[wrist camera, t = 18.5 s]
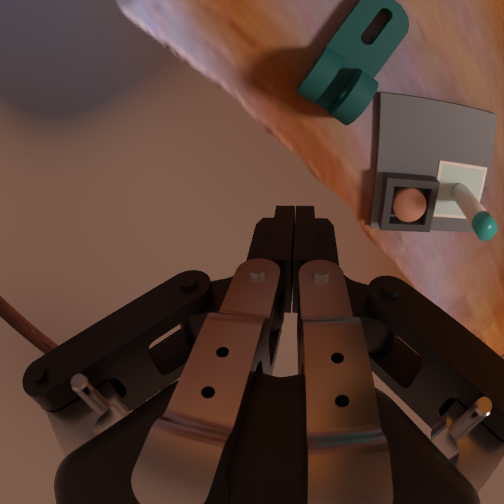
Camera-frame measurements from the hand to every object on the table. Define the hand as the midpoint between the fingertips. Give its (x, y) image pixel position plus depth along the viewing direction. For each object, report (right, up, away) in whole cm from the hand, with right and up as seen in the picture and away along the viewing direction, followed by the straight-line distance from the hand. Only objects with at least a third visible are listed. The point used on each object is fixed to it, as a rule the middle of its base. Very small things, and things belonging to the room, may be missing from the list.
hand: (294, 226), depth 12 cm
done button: (+20, +6, +27) cm, 34 cm away
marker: (+29, +8, +24) cm, 38 cm away
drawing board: (+25, +11, +24) cm, 36 cm away
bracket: (+11, +24, +17) cm, 32 cm away
